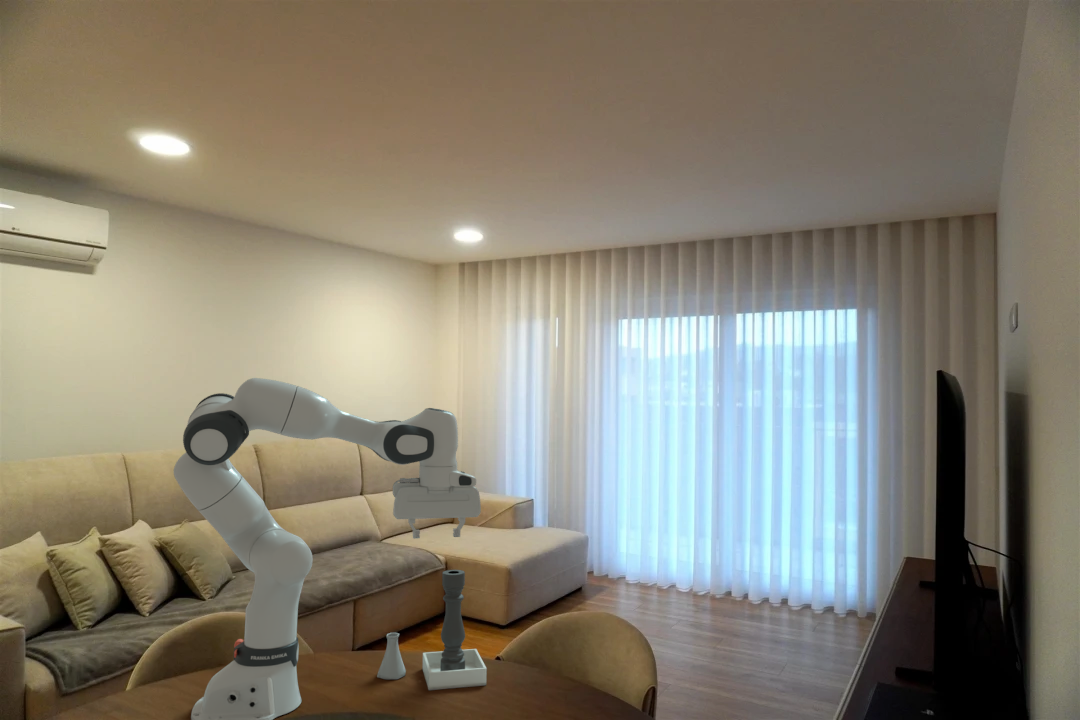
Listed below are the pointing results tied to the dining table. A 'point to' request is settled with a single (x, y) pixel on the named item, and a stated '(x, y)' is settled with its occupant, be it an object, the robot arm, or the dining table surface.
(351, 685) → the dining table surface
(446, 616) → the candle holder
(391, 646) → the flask
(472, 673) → the box
